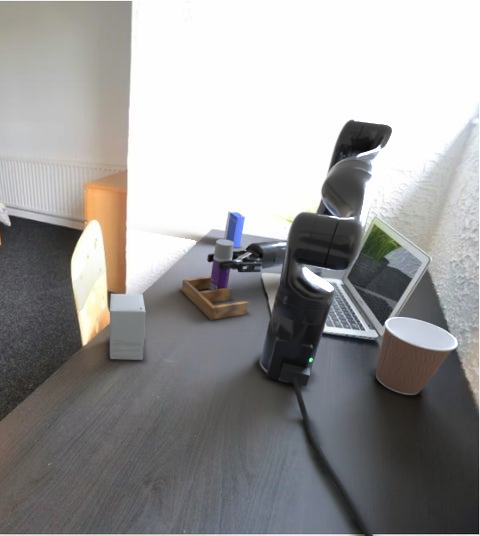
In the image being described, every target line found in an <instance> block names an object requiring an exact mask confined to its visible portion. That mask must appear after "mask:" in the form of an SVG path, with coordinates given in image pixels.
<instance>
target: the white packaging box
mask: <svg viewBox="0 0 480 536" xmlns="http://www.w3.org/2000/svg"><path fill="white" fill-rule="evenodd" d="M109 299H110V301H109V359H110V360H126V361H127V360H128V361H129V360H130V361H134V360H135V361H143V358H144V343H145V327H146V326H145V325H146V307H145V301H144V295H143V294H142V293H138V294H137V293H110V298H109Z"/></svg>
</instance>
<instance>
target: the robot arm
mask: <svg viewBox="0 0 480 536" xmlns="http://www.w3.org/2000/svg"><path fill="white" fill-rule="evenodd" d="M396 138H397V128H396V127H395V126H394V125H393V124H391V123H387V122H380V121H373V120H364V119H349V120H347V121H346V122H345V123H344V125H343V126H342V127H341V129H340V130H339V133H338V135H337V137H336V141H335V143H334V147H333V149H332V153H331V157H330V161H329V164H328V167H327V173H326V177H325V179H324V180H323V183H322V185H321V189H320V197H321V198H320V201H319V204H318V207H317V210H316V211H315V212H313V211H301V212H299V213H298V214H296V215H295V217H294V218H293V220H292V221H291V224H290V226H289V230H288V233H287V236H286V237H287V238H286V239H282V240H267V241H258V242H252V243H250V244H249V245H248V246H247V247H245V248H238V249H237V248H234V245H233V253H232V261H231V260H229V261H222V262H219V263H218V269H219V270H225V269H230V270H232V271H236V270H237V272H238V273H261V271H262V270H265V269H271V268H277V267H281V270H280V276H279V279H278V285H277V288H276V292H275V297H274V300H273V303H272V304H273V305H272V309H271V313H270V317H269V321H268V326H267V329H266V334H265V338H264V342H263V346H262V347H263V348H262V351H261V356H260V357H259V361H258V363H259V364H258V365H259V367H260V369H261V370H262V371H263V373H264V374H266V378H267V379H270V380H274V381H278V382H282V383H285V384H288V385H293V389H294V394H295V397H296V400H297V404H298V407H299V410H300V414H301V416H302V420H303V423H304V426H305V429H306V432H307V435H308V437H309V440H310V442H311V445H312V447H313V449H314V451H315V453H316V456H317V457H318V459H319V460H320V462H321V463H320V464H321V465H322V466H323V467H324V469H325V472H327V474H328V476H329V478H330V479H331V481H332V482H333V484H334V486H335V487H336V488H337V490H338V492H339V494H340V496H341V498H342V499H343V501H344V502H345V504H346V506H347V507H348V509H349V511H350V513H351V514H352V515H353V519H355V521H356V523H357V525H358V526H359V528H360V530H361V532H362V534H363V535H364V536H374V534H373V533H372V530H371V529H370V527H369V526H368V524H367V523H366V521H365V519H364V517H363V516H362V514H361V512H360V510H359V509H358V507H357V505H356V503H355V502H354V501H353V499H352V498H351V495H350V494H349V492H348V491H347V489H346V487H345V485H344V484H343V482H342V481H341V479H340V478H339V476H338V475H337V473H336V472H335V470H334V468H333V467H332V465H331V464H330V462H329V461H328V459H327V457H326V455H325V454H324V451H323V450H322V447H321V446H320V444H319V442H318V439H317V436H316V434H315V432H314V429H313V426H312V423H311V419H310V417H309V414H308V411H307V407H306V404H305V400H304V398H303V394H302V390H301V387H302V386H304V387H307V386H308V383H309V381H310V377H311V374H312V373H311V372H312V369H313V367H314V366H313V365H314V362H315V359H316V356H317V353H318V349H319V346H320V343H321V340H322V337H323V333H324V332H325V331H324V330H325V328H326V325H327V321H328V318H329V316H330V311H331V310H332V306H333V303H334V300H335V296H336V290H335V288H334V286H333V285H332V284H331V283H329V281H327V280H326V279H324V278H323V277H321V276H319V275H318V274H316V273H314V272H313V271H312V270H311V269H310V268H309V267H314V268H318V269H323V270H328V271H334V272H345V271H348V270H349V269H350V268H351V267H352V266H353V265H354V264H355V263H356V262H357V259H358V258H359V255H360V253H361V250H362V247H363V243H364V239H365V233H366V229H367V228H366V227H367V223H368V217H369V214H370V210H371V207H372V205H373V202H374V201H375V197H376V195H377V193H378V189H379V188H380V187H379V186H380V183H381V179H382V175H383V172H384V167H385V164H386V162H387V160H388V158H389V156H390V154H391V152H392V150H393V147H394V145H395V142H396ZM213 258H214V253H208V254H207V259H206V261H207V262H208V263H213ZM308 266H309V267H308Z"/></svg>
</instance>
